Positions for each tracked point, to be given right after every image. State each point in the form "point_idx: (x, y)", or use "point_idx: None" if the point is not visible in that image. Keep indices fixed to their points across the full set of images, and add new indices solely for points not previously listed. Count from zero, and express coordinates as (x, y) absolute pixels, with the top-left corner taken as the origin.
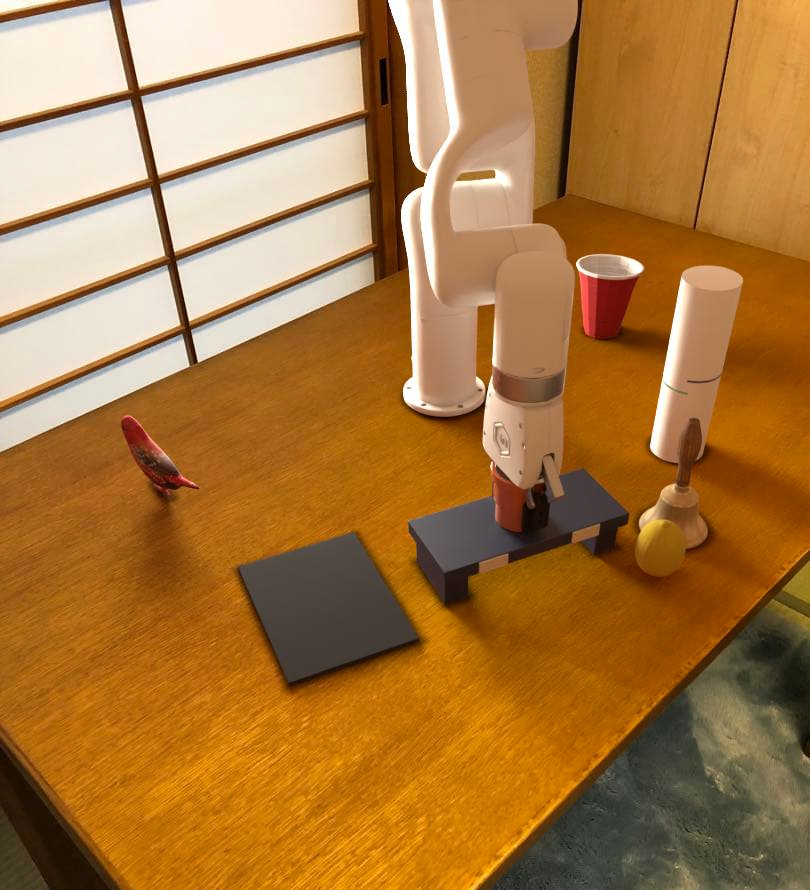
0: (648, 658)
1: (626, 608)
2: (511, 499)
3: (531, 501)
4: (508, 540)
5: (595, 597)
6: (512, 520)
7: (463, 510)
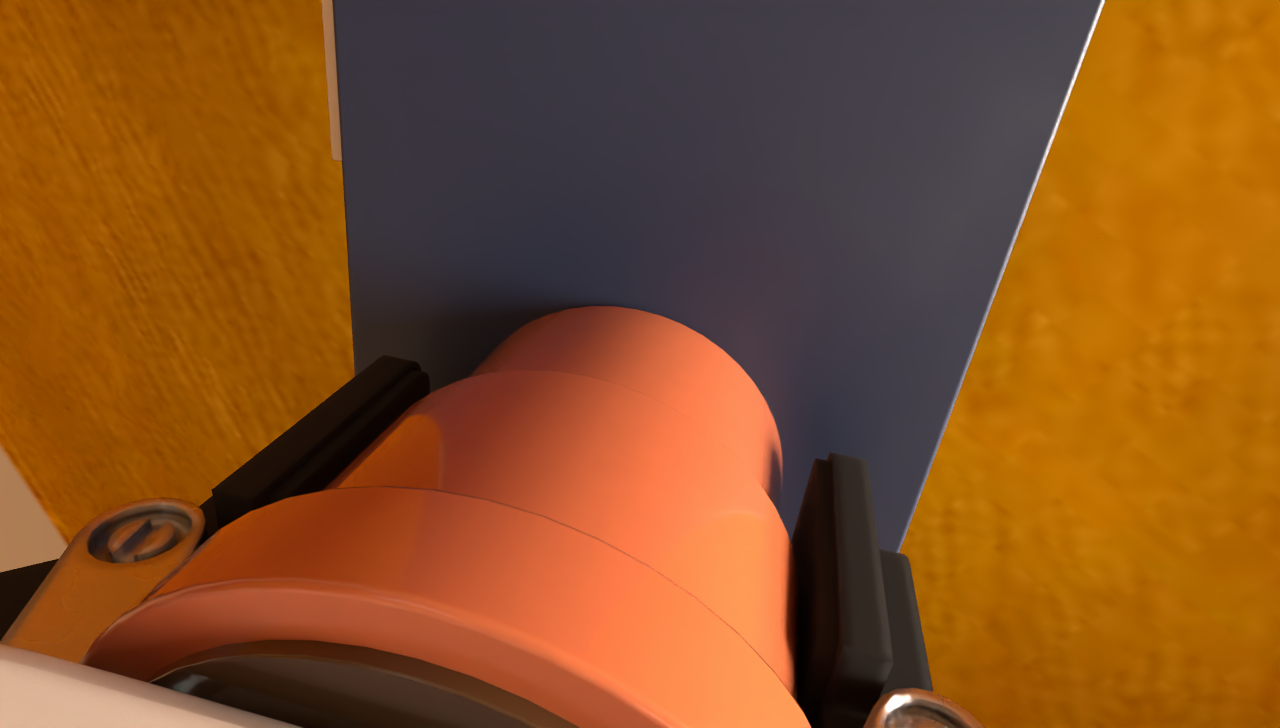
0: (13, 330)
1: (230, 439)
2: (352, 472)
3: (57, 561)
4: (444, 248)
5: (311, 399)
6: (478, 370)
7: (943, 191)
